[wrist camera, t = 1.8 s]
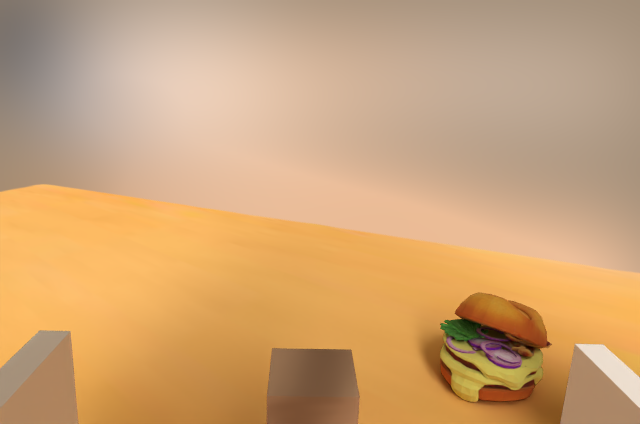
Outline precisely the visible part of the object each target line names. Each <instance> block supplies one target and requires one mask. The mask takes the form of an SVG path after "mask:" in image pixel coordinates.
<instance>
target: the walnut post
mask: <svg viewBox="0 0 640 424" xmlns="http://www.w3.org/2000/svg"><path fill="white" fill-rule="evenodd" d="M359 398H360V397H359V391H358V386H357V380H356V374H355V369H354V363H353V357H352V352H351V350H336V349H278V348H272V355H271V365H270V374H269V383H268V392H267V424H358V413H359Z"/></svg>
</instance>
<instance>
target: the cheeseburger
mask: <svg viewBox="0 0 640 424" xmlns="http://www.w3.org/2000/svg"><path fill="white" fill-rule="evenodd" d="M455 314H456V315H457V316H459V317H460V318H462V319H457V320H451V321H449V320H445V321H444V322H445V323H447V324H448V325H447V324H443V323H441V324H440V325H441V329H442V330H445V334H444V336H443V340H444V342H445V343H444V344H443V346H442V349H441V351H440V365H441V374H442V375H443V376H444V378H445V379H446V380H447V382H448V383H449V384H450V385H451V387H452V390H453V391H454V392H455V393H456V395H458V396H459V397H460V398H462V399H463V400H466V401H470V402H477V401H478V399H481V400H489V401H512V400H520V399H524V398H528V397H530V395H531V393H532V391H533V389H534V387H535V385H536V384H537V383H538V382H539V381H540V380H541V379H542V377H543V369H542V367H541V365H542V364H543V354H542V352H541V350H540V349H539V348H545V347H550V346H551V345H552V344H551V343H549V342H548V341H547V332H546V329H545V326H544V323H543V320H542V317H541V316H540V315H539V314H538V312H537V311H536V310H534V309H532V308H530V307H527V306H525V305H522V304H520V303H517V302H514V301H509V300H508V301H507V300H506V299H504V298H501V297H498V296H495V295H491V294H486V293H476V294H473V295H471V296H469V297H468V298H467V299H466V300H465V301H464V302H462V303H461V304H460V306H459V307H458V308H457V310H456V312H455ZM484 325H485V326H484Z"/></svg>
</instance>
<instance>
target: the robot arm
mask: <svg viewBox="0 0 640 424" xmlns="http://www.w3.org/2000/svg"><path fill="white" fill-rule="evenodd" d="M0 424H78V415H77V403H76V391H75V379H74V368H73V356H72V344H71V332H70V331H39V332H38V333H37V334H36V335H35V336H34V337H32V338H31V339H30V340H29V341H28V342H27V343H26V344H25V345H24V346H23V347H22V348H21V349H20V350H19V351H18V352H17V353H16V354H15V355H14V356H13V357H12V358H11V359H10V360H9V361H8V362H7V363H6V364H5V365H4V366H3V367H2V368H0ZM560 424H640V377H639V376H637V375H636V374H635V373H634V372H633V371H632V370H631V369H630V368H629V367H627V366H626V365H625V364H624V363H623V362H622V361H621V360H620V359H619V358H617V357H616V356H615V355H614V354H613V353H612V352H611V351H610V350H609V349H607V348H606V347H605V346H604V345H597V344H575V346H574V352H573V357H572V363H571V368H570V373H569V379H568V384H567V389H566V395H565V400H564V405H563V411H562V416H561V422H560Z"/></svg>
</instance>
